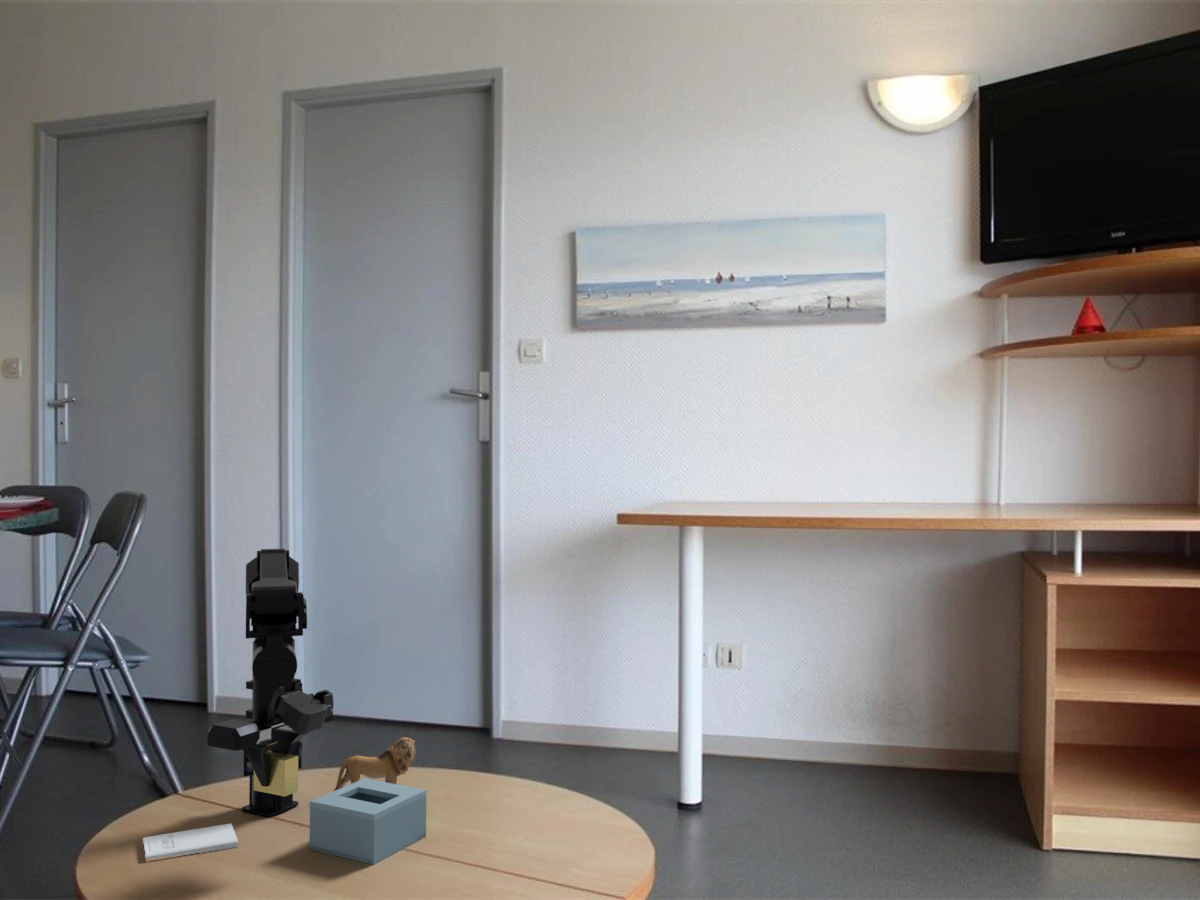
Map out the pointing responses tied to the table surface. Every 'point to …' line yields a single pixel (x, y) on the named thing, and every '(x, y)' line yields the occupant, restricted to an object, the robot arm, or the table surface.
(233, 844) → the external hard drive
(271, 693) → the robot arm
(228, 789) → the table surface
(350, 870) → the table surface
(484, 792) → the table surface
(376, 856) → the tissue box
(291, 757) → the yellow rectangular block
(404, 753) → the lion figurine
